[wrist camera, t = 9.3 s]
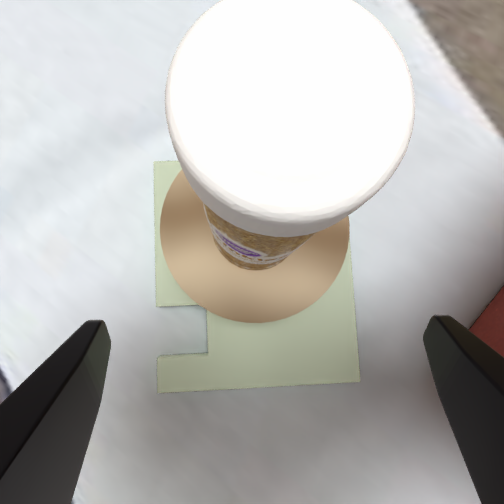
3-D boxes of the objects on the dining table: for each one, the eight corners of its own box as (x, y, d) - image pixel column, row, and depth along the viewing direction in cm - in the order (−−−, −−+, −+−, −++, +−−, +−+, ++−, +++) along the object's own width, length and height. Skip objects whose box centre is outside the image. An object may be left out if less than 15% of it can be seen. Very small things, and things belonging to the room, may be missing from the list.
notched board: (355, 378, 23) (360, 382, 22) (160, 389, 23) (157, 393, 22) (339, 161, 25) (343, 155, 24) (157, 166, 24) (153, 161, 23)
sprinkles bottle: (203, 260, 19) (127, 186, 6) (223, 177, 20) (193, -58, 7) (289, 280, 20) (400, 248, 6) (307, 196, 20) (444, 1, 7)
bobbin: (339, 314, 23) (356, 318, 19) (173, 322, 22) (161, 328, 19) (327, 156, 24) (342, 133, 21) (169, 160, 24) (157, 138, 20)
